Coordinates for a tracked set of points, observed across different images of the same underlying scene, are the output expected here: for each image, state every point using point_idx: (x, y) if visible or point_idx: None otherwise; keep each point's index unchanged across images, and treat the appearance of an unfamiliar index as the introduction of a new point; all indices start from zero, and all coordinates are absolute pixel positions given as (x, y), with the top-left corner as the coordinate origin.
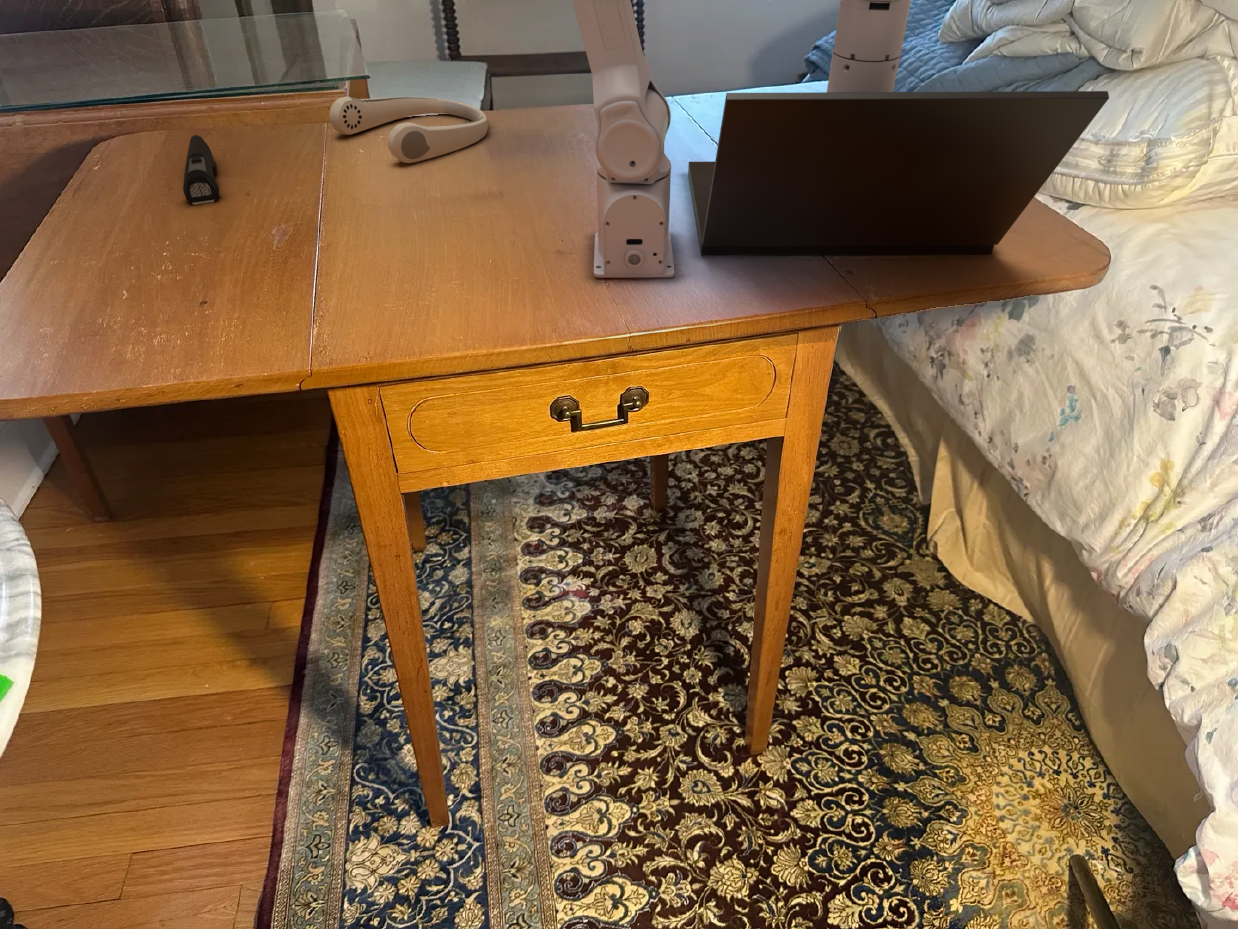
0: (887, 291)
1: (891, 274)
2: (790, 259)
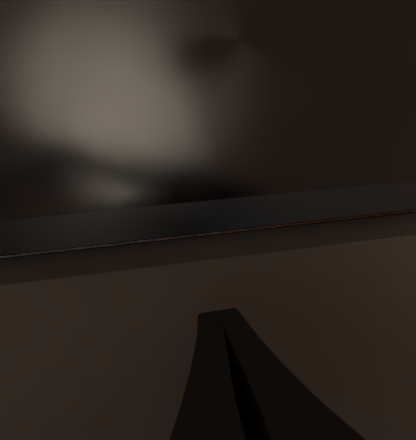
0: None
1: None
2: (129, 243)
